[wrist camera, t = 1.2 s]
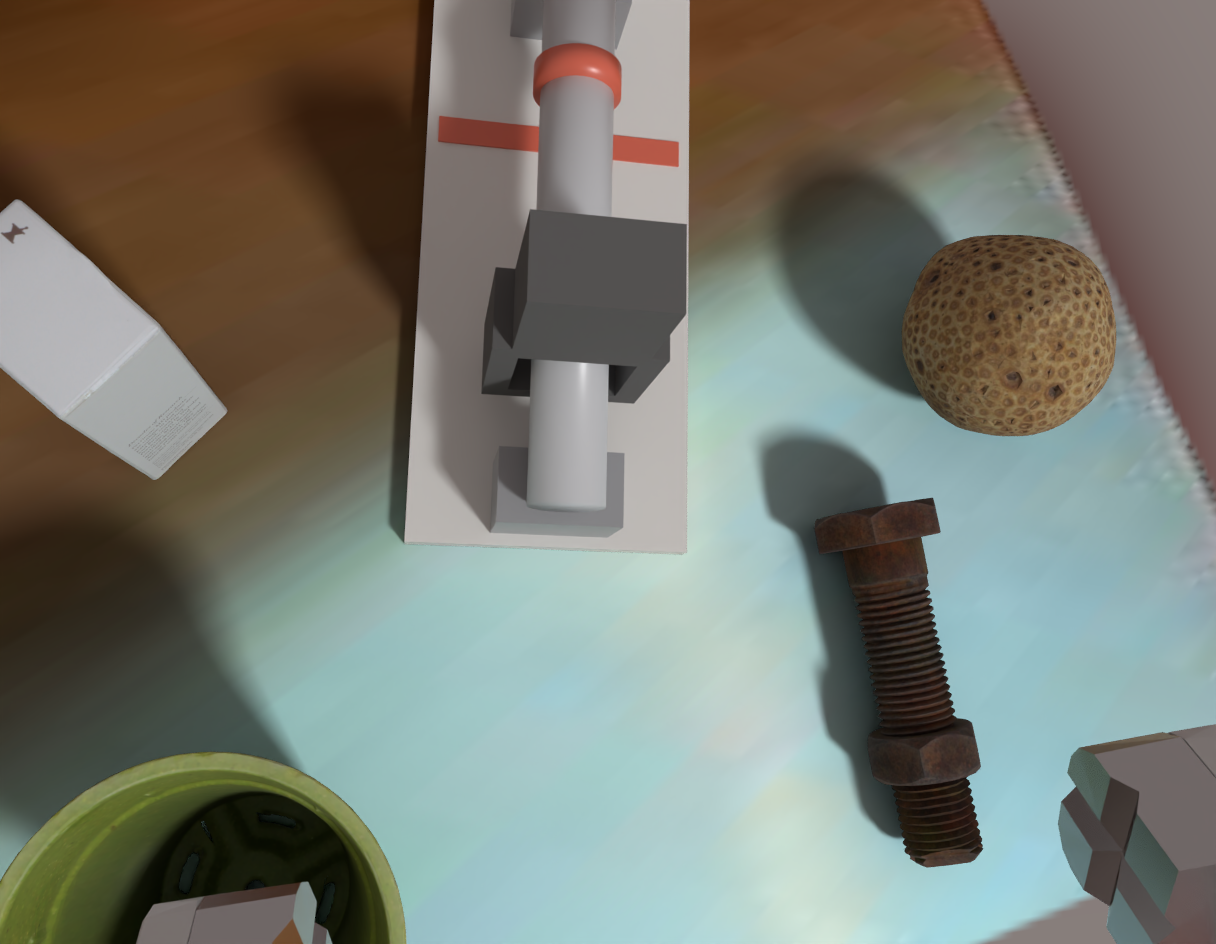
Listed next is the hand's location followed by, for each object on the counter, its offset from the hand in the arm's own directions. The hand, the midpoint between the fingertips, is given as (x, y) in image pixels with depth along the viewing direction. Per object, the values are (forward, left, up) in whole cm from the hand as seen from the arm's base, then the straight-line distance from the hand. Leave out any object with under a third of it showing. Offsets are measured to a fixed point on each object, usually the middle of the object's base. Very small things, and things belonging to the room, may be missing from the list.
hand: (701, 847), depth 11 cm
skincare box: (-15, +12, -33) cm, 38 cm away
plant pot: (-9, -7, -33) cm, 35 cm away
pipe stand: (+2, +20, -33) cm, 39 cm away
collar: (+2, +14, -30) cm, 33 cm away
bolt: (+18, +1, -33) cm, 38 cm away
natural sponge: (+21, +16, -33) cm, 43 cm away
